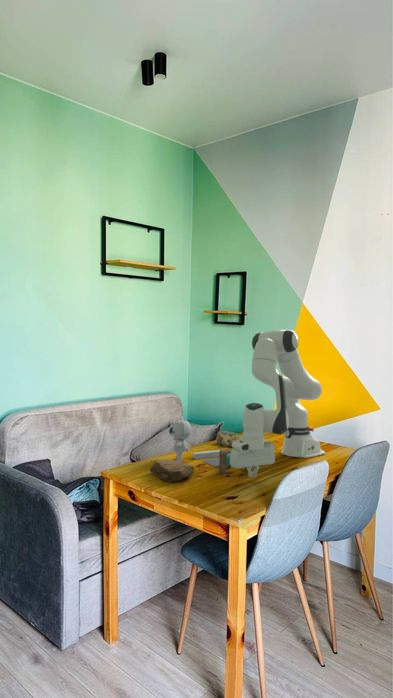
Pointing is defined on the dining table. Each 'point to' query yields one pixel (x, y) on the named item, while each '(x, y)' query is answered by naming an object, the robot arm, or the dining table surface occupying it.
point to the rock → (171, 470)
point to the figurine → (226, 439)
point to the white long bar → (206, 454)
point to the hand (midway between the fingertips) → (252, 476)
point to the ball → (228, 460)
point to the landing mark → (212, 462)
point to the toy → (180, 436)
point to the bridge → (224, 460)
